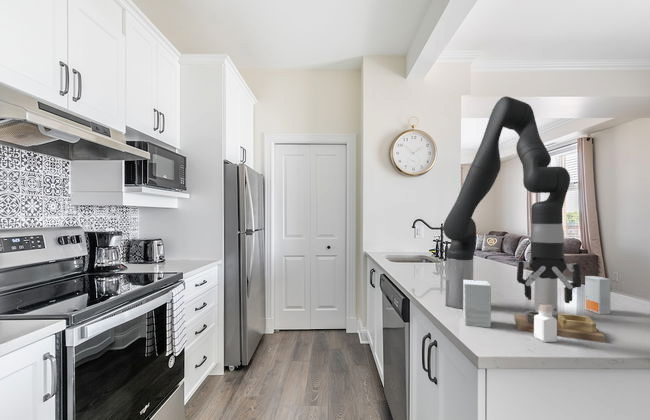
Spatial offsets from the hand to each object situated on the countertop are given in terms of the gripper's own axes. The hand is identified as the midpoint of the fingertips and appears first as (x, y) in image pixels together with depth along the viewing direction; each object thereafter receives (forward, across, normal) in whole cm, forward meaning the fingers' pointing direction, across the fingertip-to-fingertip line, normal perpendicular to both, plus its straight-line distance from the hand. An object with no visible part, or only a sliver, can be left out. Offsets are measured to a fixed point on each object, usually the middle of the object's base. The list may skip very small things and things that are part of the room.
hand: (547, 300), depth 90 cm
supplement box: (+10, -18, +7) cm, 22 cm away
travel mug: (+11, +4, +26) cm, 28 cm away
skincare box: (+11, +21, +39) cm, 46 cm away
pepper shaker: (+11, -1, 0) cm, 11 cm away
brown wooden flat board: (+10, +3, +11) cm, 15 cm away
